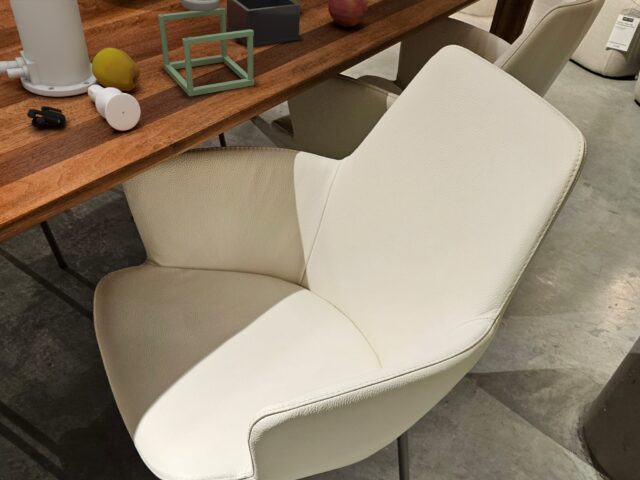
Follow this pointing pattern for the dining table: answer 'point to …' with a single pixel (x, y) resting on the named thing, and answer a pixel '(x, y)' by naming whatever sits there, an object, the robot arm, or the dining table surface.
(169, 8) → the dining table surface
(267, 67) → the dining table surface
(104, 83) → the lemon
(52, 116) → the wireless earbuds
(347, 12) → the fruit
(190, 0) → the travel mug
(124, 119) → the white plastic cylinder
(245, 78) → the rack
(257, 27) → the dark grey storage box
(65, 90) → the robot arm
